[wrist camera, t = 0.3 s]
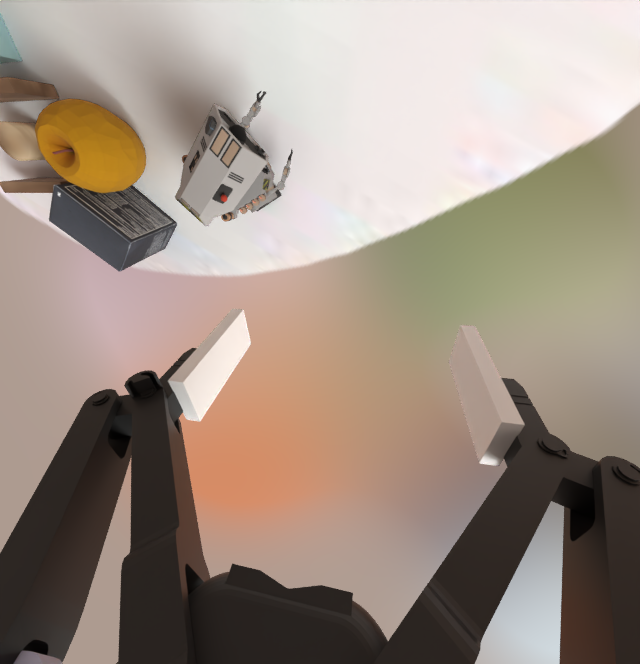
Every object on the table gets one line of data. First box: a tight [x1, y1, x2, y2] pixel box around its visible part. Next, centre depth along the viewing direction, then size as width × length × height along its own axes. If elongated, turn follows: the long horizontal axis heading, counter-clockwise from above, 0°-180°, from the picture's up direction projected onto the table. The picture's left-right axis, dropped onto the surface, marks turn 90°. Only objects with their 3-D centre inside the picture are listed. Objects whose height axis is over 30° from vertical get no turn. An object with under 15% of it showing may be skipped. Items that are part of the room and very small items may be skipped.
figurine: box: [175, 91, 293, 226], centre depth 31 cm, size 9×12×15 cm
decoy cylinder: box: [0, 121, 46, 161], centre depth 39 cm, size 4×4×5 cm
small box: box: [49, 183, 177, 271], centre depth 41 cm, size 11×6×10 cm, turn 48°
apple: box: [35, 99, 146, 193], centre depth 35 cm, size 10×10×12 cm
